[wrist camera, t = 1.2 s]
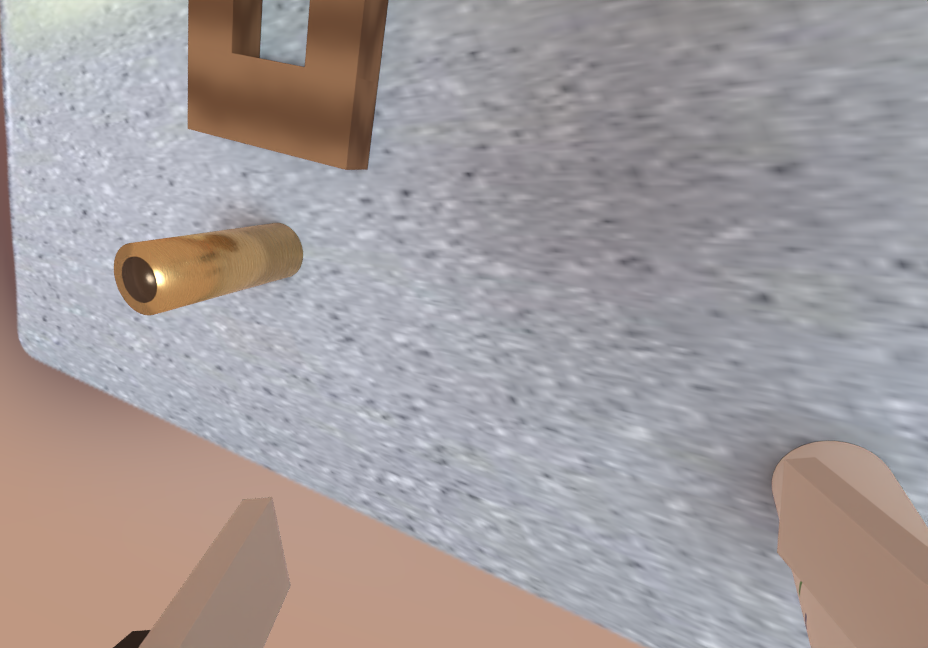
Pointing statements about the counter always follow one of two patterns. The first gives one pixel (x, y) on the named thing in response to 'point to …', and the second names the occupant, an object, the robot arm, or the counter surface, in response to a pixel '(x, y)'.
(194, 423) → the counter surface
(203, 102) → the walnut jig plate
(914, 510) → the cylindrical container
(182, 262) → the brass bushing
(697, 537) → the counter surface
